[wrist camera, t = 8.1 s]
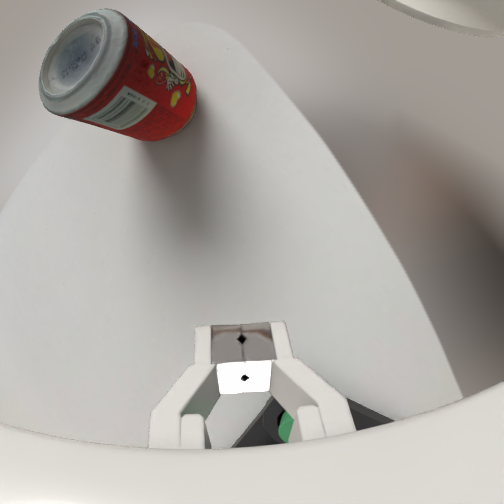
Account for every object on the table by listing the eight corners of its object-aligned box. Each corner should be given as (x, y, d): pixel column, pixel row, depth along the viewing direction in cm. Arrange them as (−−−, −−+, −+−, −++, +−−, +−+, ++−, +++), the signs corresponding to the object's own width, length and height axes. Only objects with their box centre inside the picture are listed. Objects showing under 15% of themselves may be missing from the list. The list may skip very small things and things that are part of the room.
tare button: (293, 400, 23) (290, 413, 21) (323, 415, 22) (322, 429, 21) (275, 422, 23) (271, 435, 22) (303, 437, 23) (301, 450, 21)
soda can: (221, 106, 24) (140, 37, 12) (157, 162, 25) (48, 139, 14) (177, 55, 24) (94, -14, 12) (120, 108, 26) (20, 70, 14)
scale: (291, 363, 25) (286, 381, 22) (404, 421, 24) (409, 441, 21) (218, 457, 28) (209, 475, 25) (315, 501, 27) (313, 520, 24)
